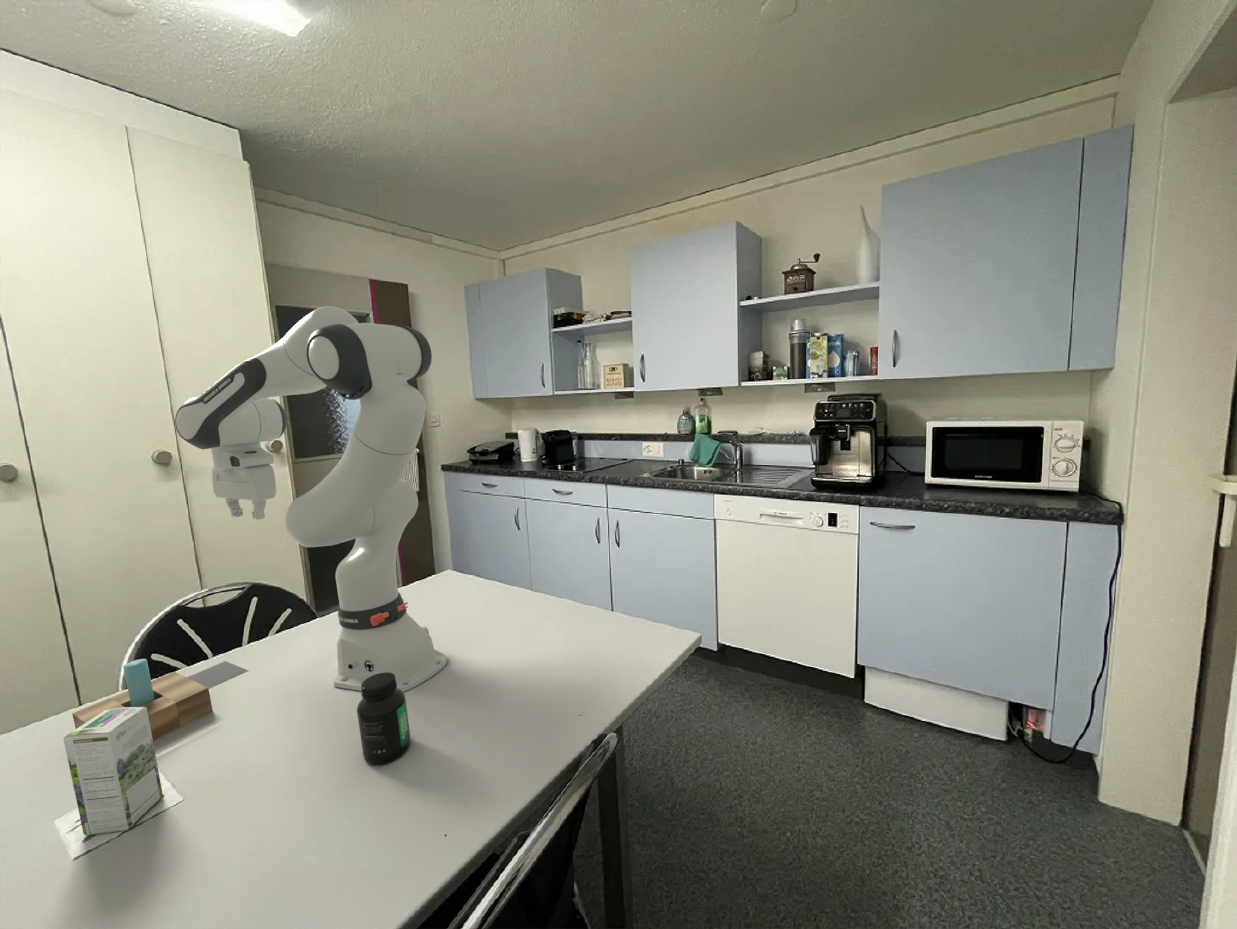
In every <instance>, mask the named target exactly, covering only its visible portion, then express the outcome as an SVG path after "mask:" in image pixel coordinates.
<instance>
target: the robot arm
mask: <svg viewBox="0 0 1237 929" xmlns="http://www.w3.org/2000/svg"><path fill="white" fill-rule="evenodd" d="M432 355H433V354H432V348H431V345H430V343H429V341H428V339H427V338H426V336H425V335H423V333H422V332H420V331H419V330H417V329H415V328H412V327H409V326H406V325H401V324H392V325H391V324H384V323H383V324H382V323H374V322H360V323H359V321H358V320H357V319H356V317H354V316H353V315H352V313H350V312H348V311H347V310H345V309H342V308H340V307H338V306H333V305H325V306H320V307H317V308H316V309H313V310H312V311H311V312H309V313H308V314H306V315H305V316H303V317H302V318H301V319H300V320H298V321H297V322H296V324H294V325H293V326H292V327H291V328H290V329H289V330H288V331H287V332H286V334H285V335H284V336H283V337H282V338H281V339H279V340H278V341H277V342H276V343H273V344H272V345H271V346H270V347H268V348H266V349H265V350H263V351H262V352H260V353H257V354H256V355H254V356H252V357H250V358H248V359H245V360H244V361H241V362H239V363H238V364H237V365H235V366H234V367H233V368H232V369H230V370H229V371H227V372H226V373H225V374H224V375H223V376H221V377H220V378H219V379H218V380H217V381H215V383H213V384H212V385H211V386H210V387H207V388H206V390H204V392H202V393H201V394H200V395H198V396H193V397H190V398H188V399H187V400H186V401H184V403H182V404H181V405H180V407H179V408H178V409H177V410H176V413H175V418H174V422H175V423H174V424H175V428H176V431H177V434H178V435H179V437H180V438H182V439H183V440H184V441H185V442H186V443H188V444H189V445H192V446H194V447H196V448H197V449H200V450H208V449H209V450H210V449H211V450H210V451H211V455H212V463H213V467H212V469H211V479H212V489H213V493H214V495H215V497H216V498H221V499H222V498H224V499H225V503H226V505H227V506H228V508H229V510H230V515H231V517H233V518H239V517H243V515H244V512H243V508H242V507H241V505H240V503H239V501H240V500H247V501H251V504H252V506H253V511H251V514H252V515H251V516H252V519H254V520H258V521H259V520H262V519H263V520H264V518H265V517H266V516H265V514H266V513H265V508H266V505H267V501H266V500H271V499H274V498H275V497H276V495H277V484H276V483H277V482H276V476H275V470H274V468H273V466H272V465H273V464H274V463H275V459H274V456H273V454H272V453H271V452H269V451H267V450H265V449H264V448H263V447H262V446H261V443H262V442H264V443H265V442H270V441H274V440H278V439H279V438H280V437H282V436H283V434H284V433H285V431H286V429H287V426H288V416H287V413H286V410H285V409H284V407H283V405H282V404H280V402H278V401H277V400H275V399H273V397H274V398H275V397H282V396H292V395H293V396H295V395H307V394H311V393H312V394H313V393H315V392H319V391H320V390H323V389H324V388H326V387H328V388H329V389H331V390H334V391H336V392H337V393H338V394H339V396H340V397H341V398H343V399H345V400H349V401H350V400H351V401H353V400H354V401H355V400H356V401H357V400H359V402H360V409H359V414H358V415H357V418H356V421H355V424H354V426H353V429H352V432H351V435H350V437H349V440H348V443H347V445H346V448H345V450H344V453H342V454H343V455H342V457H341V458H340V460H339V461H338V463H337V464H336V465H335V466H334V467H333V469H332V470H331V471H330V472H329V473H328V474H327V475H326V476H325V477H324V478H323V479H321V481H319V483H318V484H317V485H315V486H314V487H313V488H311V489H310V490H308V491H307V492H306V493H304V494H302V495H300V496H298V497H296V498H295V499H294V500H293V501H292V502H291V503H290V504H289V506H288V508H287V511H286V514H285V526H286V529H287V531H288V533H289V536H290V537H291V538H292V540H294V541H295V542H296V543H298V544H299V545H301V546H302V547H305V548H317V547H318V548H319V547H327V546H335V545H339V544H341V543H345V542H349V541H352V540H355V542H354V545H353V547H352V549H351V551H350V552H349V553H348V554H347V555H346V556H345V557H344V558H343V559H342V560H341V562H339V564H338V566H337V568H336V569H335V576H334V577H335V582H336V588H337V589H336V591H337V596H338V602H339V604H338V606H337V616H338V617H337V618H338V622H339V625H340V626H341V631H340V634H339V638H338V640H337V642H336V646H337V647H336V651H337V652H336V653H337V672H338V674H337V675H336V677H335V678H334V680H333V686H334V688H335V687H336V688H340V689H347V690H353V691H360V692H362V690H361V685H362V683H363V681H365V680H366V679H367V678H369V677H370V676H373V675H375V674H379V673H384V672H389V673H393V674H394V675H395V678H396V683H397V688H399V689H401V690H402V691H403V692H406V691H408V690H409V691H410V690H411V689H413V688H415V687H417V686H418V685H420V684H422V683H424V682H425V681H427V680H429V679H430V678H431V677H433V676H434V675H436V674H437V673H439V672H440V671H441V670H442V669H443V668H444V667H445V666H446V665H447V663H448V661H449V658H448V656H447V655H446V654H444V653H442V652H440V651H438V650H436V649H435V648H434V645H433V644H434V643H433V639H432V637H431V635H430V631H429V629H428V627H427V626H421V625H420V624H419V623H418V622H416V620H414V618H413V617H411V616H410V615H409V613H408V612H407V608H409V606H408V604H409V602H408V601H406V602H405V601H404V599H403V597H402V594H401V593H400V592H399V588H398V579H397V576H398V575H397V563H396V562H397V552H398V547H399V543H400V540H401V538H402V535H403V533H404V531H405V529H406V527H407V525H408V524H409V522H411V520H412V519H413V518H414V517H415V515H416V513H417V510H418V507H419V498H418V494H417V491H416V490H415V488H414V486H413V485H412V484H411V482H409V481H408V480H406V479H403V477H404V476H405V474H406V471H407V469H408V466H409V464H410V462H411V460H412V458H413V457H412V456H413V454H414V452H415V449H416V447H417V444H418V442H419V439H420V436H421V433H422V431H423V426H424V422H425V415H426V412H427V411H426V410H427V404H426V400H425V398H424V396H423V395H422V393H421V392H420V391H419V390H418V389H417V388H415V387H414V386H413V385H410V384H409V383H408V382H413V381H414V380H417V379H419V378H421V377H423V376H424V375H425V374H426V373H427V372H428V371H429V369H430V368H431V365H432V360H433V359H432ZM406 605H407V606H406Z"/></svg>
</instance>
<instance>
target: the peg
mask: <svg viewBox="0 0 1237 929" xmlns="http://www.w3.org/2000/svg"><path fill="white" fill-rule="evenodd" d="M148 663H149V662H148V660H147V658H141V659H136V660H135V659H134V660H132V661H130V662H127V663H125V664H124V665H123V674H124V676H125V683H126V686H127V691H128V693H129V698H130V703H131V707H140V706H143V705H145V704H147V703H150V702H152V701H154V700H155V699H154V694H153V688H152V683H151V681H152V679H151V675H150V674H151V673H150V669H149V665H148Z"/></svg>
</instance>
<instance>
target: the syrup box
mask: <svg viewBox="0 0 1237 929" xmlns="http://www.w3.org/2000/svg"><path fill="white" fill-rule="evenodd" d="M63 741H64V743H63V744H64V747H65V752H66V758H67V763H68V767H69V771H70V776H71V782H72V786H73V790H74V795H75V800H76V804H77V808H78V814H79V818H80V824H81V829H82V834H83V835H85V836H91V835H98V834H101V835H102V834H108V833H113V832H114V833H115V832H121V831H129V830H130V829H131V828H132V827H133V826H134V825H136V824H137V823H138V822H139V820H141V819H142V818H143V816H145V815H146V814H147V813H148V812H149V811H150V810H151V809H152V808H153V807H154V806H156V804H157V803H158V802H160V801H161V800H162V798H163V794H164V793H163V789H162V783H161V779H160V773H159V767H158V761H157V756H156V750H155V747H154V746H155V745H154V740H153V738H152V734H151V728H150V723H149V717H148V712H147V708H145V707H124V708H115V709H110V710H105V711H103V712H101V713H100V714H98V715H97V716H95V717H94V718H92V719H91V720H89V721H88V722H86V723H85V724H83V725H82V726H80V727H79V728H77V729H76V728H75V729H74V730H73V731H71V732H70V733H68V734H67V735H65V736H64V737H63Z"/></svg>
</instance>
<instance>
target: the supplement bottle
mask: <svg viewBox="0 0 1237 929" xmlns="http://www.w3.org/2000/svg"><path fill="white" fill-rule="evenodd" d="M361 690H362V691H361V700H360V701H359V702H358V705H357V708H356V714H357V721H358V728H359V736H360V743H361V747H362V748H361V749H362V755H363V759H364V761H365V762H366V763H367V764H369V765H371V766H383V765H388V764H390V763H392V762H395V761H397V760H398V759H399V758H401V757H403V755H405V753H407V752H408V750H409V748H410V746H411V742H412V740H411V731H410V723H409V716H408V708H407V700H406V699H407V698H406V694H405V693H404V692H405V691H404V692H403V691H402V690H401V689H399V688H397V683H396V678H395V675H394V674H393V673H389V672H384V673H379V674H375V675H373V676H370V677H369V678H367V679H366V680H365V681H363V683H362V685H361Z"/></svg>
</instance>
